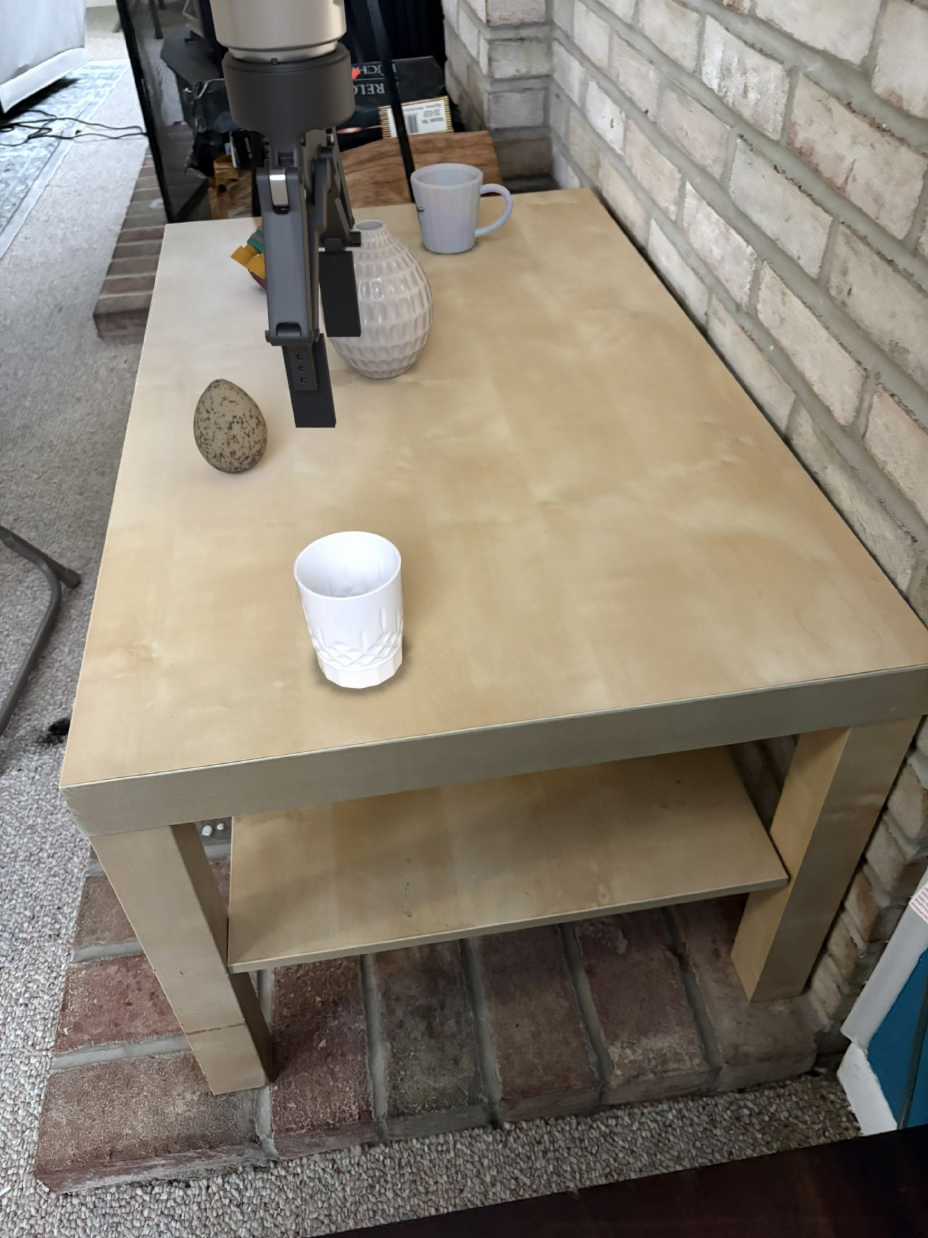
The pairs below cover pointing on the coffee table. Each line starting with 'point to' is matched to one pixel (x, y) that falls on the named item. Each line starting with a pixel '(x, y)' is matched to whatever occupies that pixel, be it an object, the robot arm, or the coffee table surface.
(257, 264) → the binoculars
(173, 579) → the coffee table surface
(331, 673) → the white cup
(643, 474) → the coffee table surface
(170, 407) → the coffee table surface
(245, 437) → the decorative egg
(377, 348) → the vase
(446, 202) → the mug
